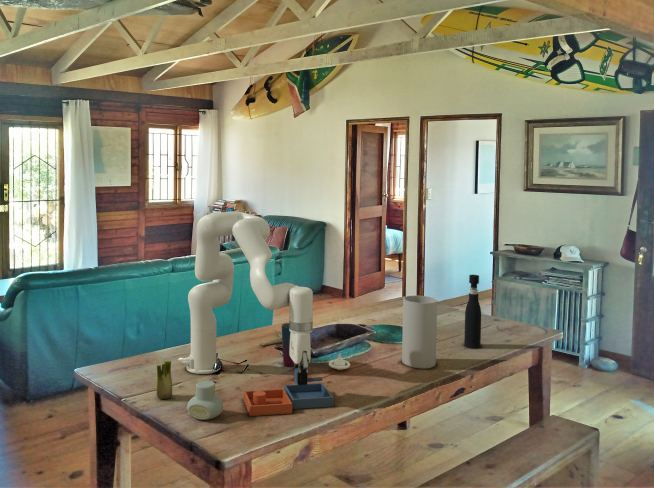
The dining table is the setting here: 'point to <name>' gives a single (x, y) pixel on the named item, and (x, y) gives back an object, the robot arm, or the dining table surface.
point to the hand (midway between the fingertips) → (300, 381)
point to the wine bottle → (473, 316)
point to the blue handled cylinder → (307, 378)
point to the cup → (286, 345)
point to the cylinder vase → (419, 331)
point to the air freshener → (205, 402)
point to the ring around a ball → (339, 363)
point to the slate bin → (309, 395)
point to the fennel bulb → (164, 380)
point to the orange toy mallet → (262, 399)
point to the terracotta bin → (272, 408)
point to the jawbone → (274, 341)
